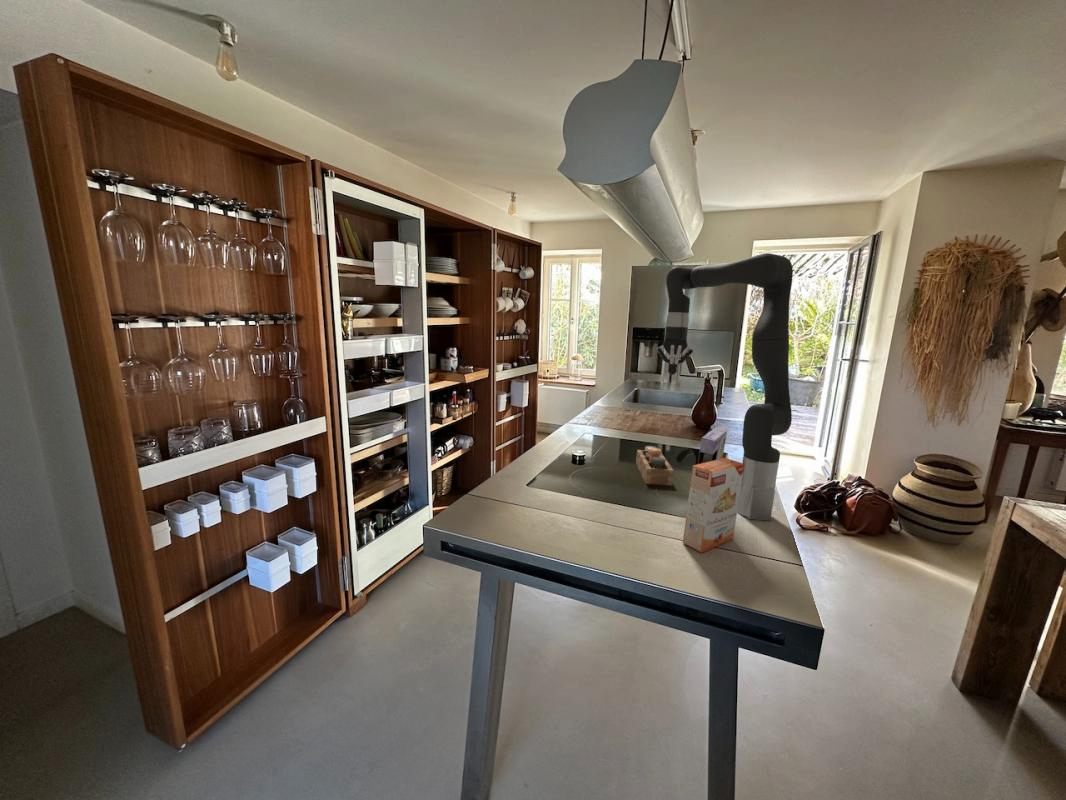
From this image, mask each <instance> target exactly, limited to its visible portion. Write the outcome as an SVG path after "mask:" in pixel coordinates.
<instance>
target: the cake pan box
mask: <svg viewBox="0 0 1066 800" xmlns="http://www.w3.org/2000/svg"><path fill="white" fill-rule="evenodd" d="M727 433H728V430H727V429H722V428H717V427H714V429H712V430H711V431H708V432H707V433H706V434H705V435H703V436H702V437H701V439H700V445H699V452H698V459H697V460H698V461H697V464H702V463H706V462H710V461H714V460H718V459H722V458H724V452H725V446H726V440H727Z"/></svg>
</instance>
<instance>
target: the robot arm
mask: <svg viewBox="0 0 1066 800" xmlns="http://www.w3.org/2000/svg"><path fill="white" fill-rule="evenodd" d="M793 271H794V270H793V264H792V261H791V260H790V259H789V258H787V257H785V256H783V255H779V254H774V253H768V252H766V253H761V254H756V255H754V256H750V257H746V258H744V259H740V260H736V261H731V262H724V263H721V262H720V263H712V264H703V265H699V266H696V267H694V268H693V267H683V266H673V267H672V268H670V269H669V271H668V273H667V275H666V279H665V280H666V281H665V282H666V283H665V284H666V290H667V297H668V310H667V315H666V321H665V330H664V340H663V342H662V345H661V346H659V347H656V348H655V350H656V352H657V353H658V354H659V356H660V358H661V359H662V361H663V362H664V363H667V364H668V365H667V367H668V368H667V372H668V374H669V375H670V376H671V375H672V376H674V375H675V374H676V373H677V371H678V366H679V365H680V364H683V363H684V362H685V360H687V359H688V358H689V357H690V356H691V355H692V354H693V352H694V351H693V349H691V348H690V347H689V346H688V342H687V341H688V331H689V323H690V316H689V315H690V314H689V313H690V305H691V298H690V297H689V296H687V295H686V294H685V293H684V290H693V289H698V288H715V287H721V286H724V285H727V284H744V285H749V286H754V287H757V288H761V289H762V290H763V305H762V311H761V314H760V316H759V318H758V320H757V322H756V324H755V326H754V330H753V332H752V336H751V357H752V362H753V365H754V367H755V370H756V371H757V373H758V376H759V377H760V379H761V381H762V385H763V390H764V403H755V404H753V405H751V406H749V407H748V409H747V410H746V412H745V414H744V418H743V428H742V439H741V440H742V441H741V442H742V443H741V444H742V448H743V456H742V462H741V463H743V464H745V466H744V472H743V478H742V485H741V491H740V497H739V504H738V510H737V514H740V515H741V516H744V517H746V518H747V519H750V520H758V521H759V520H761V521H771V519H772V514H773V513H772V512H773V506H774V500H775V495H776V485H777V483H776V482H777V477H778V471H779V464H780V459H781V453H780V450H778V449H777V448H776V447H773V445H772V440H773V436H781V435H784V434H786V433H787V432H788V431H789V430H790V428H791V425H792V418H793V417H792V404H791V398H790V385H789V384H790V383H789V377H790V376H789V374H790V373H789V355H790V353H789V352H790V333H789V331H790V330H789V327H790V326H789V325H790V324H789V323H790V300H791V291H792V284H793V276H794V275H793V274H794V272H793ZM665 351H666V353H667V356H668V357H667V356H666V354H665ZM683 352H684V354H683V355H682V353H683ZM681 355H682V356H681Z"/></svg>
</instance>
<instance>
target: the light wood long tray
mask: <svg viewBox="0 0 1066 800" xmlns="http://www.w3.org/2000/svg"><path fill="white" fill-rule="evenodd" d="M649 458H650V456H646V452H645V449H644V450H643V449H637V451H636V459H635V464H636V466H637V468H638V470H639V473H640V475H641V477H642V479H643V481H644V484H646V485H658V486H659V485H660V486H670V487H671V486H673V482H674V473H675V472H674V469H673V467H672V466H671V464H670V463H669V462H668V460H667V459H666V457H665V456H664V454H663V453H662V452H661V455H659V458H663V459H665V465H663V469H659V468H653V463H652V462H649Z"/></svg>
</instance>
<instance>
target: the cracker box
mask: <svg viewBox="0 0 1066 800" xmlns="http://www.w3.org/2000/svg"><path fill="white" fill-rule="evenodd" d="M744 466H745V464H743V463H742V462H740V461H736V460H733V459H731V458H730V459H729V458H727V457H723V458H722V459H718V460H714V461H710V462H706V463H702V464H698V463H697V464H694V465H692V469H691V475H690V476H691V477H690V484H689V485H690V486H689V494H688V500H687V507H686V515H685V522H684V523H685V524H684V530H683V531H684V532H683V539H682V543H683V544H684V545H686V546H688V547H689V548H691V549H693V550H695V551H697V552H699V553H700V554H703V553H704V552H707V551H709V550H711V549H713V548H716V547H719V546H720V545H722V544H725V543H727V542H730V541H732V540H733V539H734V537H735V535H734V534H735V528H736V522H737V516H738V512H737V510H738V504H739V497H740V491H741V485H742V478H743V472H744Z"/></svg>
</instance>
